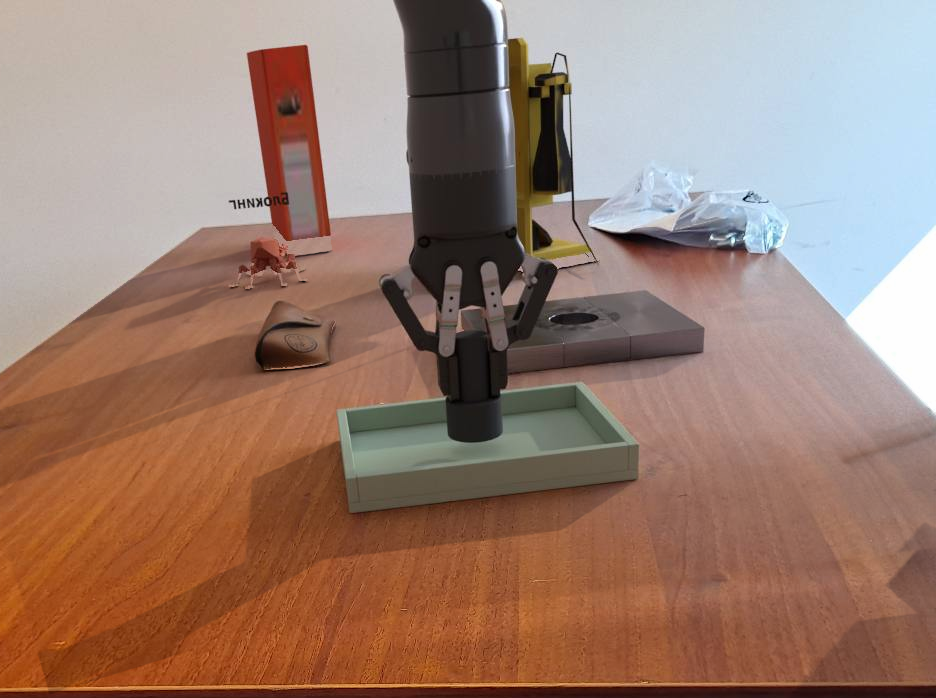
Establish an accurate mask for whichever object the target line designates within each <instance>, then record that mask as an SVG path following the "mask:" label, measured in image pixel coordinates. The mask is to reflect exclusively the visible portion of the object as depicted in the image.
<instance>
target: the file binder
mask: <svg viewBox="0 0 936 698" xmlns="http://www.w3.org/2000/svg"><path fill="white" fill-rule="evenodd" d="M246 58H247V59H246V60H247V66H248V72H249V79H250V85H251V91H252V98H253V106H254V112H255V118H256V125H257V132H258V139H259V143H260V144H259V146H260V152H261V153H260V154H261V159H262V160H261V161H262V166H263V172H264V180H265V187H266V193H267V197H270V198H271V200H272V205H271V206H269V212H270V219H271V225H272V224H273V226H275V227H276V229H277V230H278V231H279V233H280V234H281V235H282V236H283V238H284V239H285V240H286V241H292V240H299V239H307V238H315V237H323V236H330V235H331V236H332V233H331V225H330V217H329V209H328V202H327V191H326V185H325V177H324V169H323V168H324V167H323V159H322V153H321V152H322V151H321V144H320V136H319V127H318V119H317V111H316V103H315V95H314V87H313V78H312V71H311V62H310V54H309V46H308V45H307V44H300V45H299V44H298V45H290V46H280V47H272V48H263V49H257V50H252V51H249V52H246ZM285 192H288V198H289V205H284V204H283V203H282V202H281V200H282V198H283V197H286V195H281V193H285ZM274 196H279V199H280V202H281V203H282V205H280V204H278V201H277V198H275V200H276V206H274V202H273V197H274ZM284 202H286V200H284Z"/></svg>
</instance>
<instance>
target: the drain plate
mask: <svg viewBox="0 0 936 698" xmlns="http://www.w3.org/2000/svg"><path fill="white" fill-rule="evenodd" d="M517 304H518V303H517ZM517 304H509V305H508V304H506V305H503V308H504V313H505V324H506V323H508V322H510V320H511V318H512V316H513V313H514V311H515V309H516V306H517ZM460 326H461V327H462V328H461V330H462V329H463V330H464V331H467V330H480V331H484V332H486V329H485V323H484V318H483V314H482V311H481V307H478V308H471V309H461V310H460ZM705 331H706V330H705V327H704V326H703V325H701V324H700V323H698V322H697V321H695V320H693V319H692V318H691V317H689V316H687V315H686V314H684V313H682V312H681V311H679V310H678V309H676V308H675V307H673V306H672V305H670V304H669V303H667V302H665V301H664V300H662V299H661V298H660V297H657V296H656V295H654V293H651V292H650V291H648V290H646V289H644V290H634V291H627V292H626V291H625V292H616V293H615V292H614V293H607V294H597V295H589V296H580V297H569V298H560V299H554V300H546V301H545V303H544V306H543V308H542V310H541V312H540V315H539V317H538V319H537V322H536V324H535V326H534V328H533V331H532V333H531V335H530V337H529V338H528V339H526V340H518V341H516V342H514V343H512V344H511V345H510V346H509V347H508V349H507V374H509V375H510V374H517V373H525V372H526V373H527V372H535V371H544V370H545V371H546V370H553V369H562V368H571V367H580V366H588V365H598V364H606V363H615V362H624V361H631V360H632V361H634V360H643V359H650V358H660V357H669V356H677V355H686V354H694V353H703V352H704V347H705Z"/></svg>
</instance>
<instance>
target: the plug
mask: <svg viewBox="0 0 936 698" xmlns="http://www.w3.org/2000/svg"><path fill="white" fill-rule="evenodd" d="M454 353H455V354H456V355H457V362H458V379H459V396H460V401H459V402H450V401H449V399H448V396H445V397H446V399H445V401H446V416H447V431H448V436H449V438H451V439H452V440H455V441H458V442H465V443H478V442H485V441H490V440H493V439H495V438H497V437H499V436H500V435H501V434H502V433H503V422H502V396H501V394H500V397H495V398H490V387H489V365H488V341H487V333H486V332H484V331H480V330H467V331H462V330H461V331H458V332H456V337H455V349H454Z"/></svg>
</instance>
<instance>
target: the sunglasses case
mask: <svg viewBox="0 0 936 698" xmlns="http://www.w3.org/2000/svg"><path fill="white" fill-rule="evenodd" d="M335 321H336V319H333V318H332V317H329V316H325V315H322V314H319V313H315V312H310V311H307V310H305V309H304V308H302V307H300V306H298V305H296V304H294V303H291V302H288V301H286V300H277V301H276V302H275V303H274V304H273V305H272V307H271V309H270V312H269V313H268V315H267V316H266V318H265V320H264V322H263V324H262V327H261V330H260V332H259V335H258V338H257V340H256V345H255V349H254V360H255V362H256V364H257V365H258V366H259V367H260V368H261V369H262V370H264V369H271V368H283V367H285V368H287V367H294V366H302V365H311V364H312V365H313V364H317V363H318V364H319V363H326V364H328V363H330V362H331V356H330V348H329V347H330V346H329V345H330V340H331V336H332V333H331V331H332V327H333V325H334V323H335ZM332 332H333V331H332ZM330 335H331V336H330Z"/></svg>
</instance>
